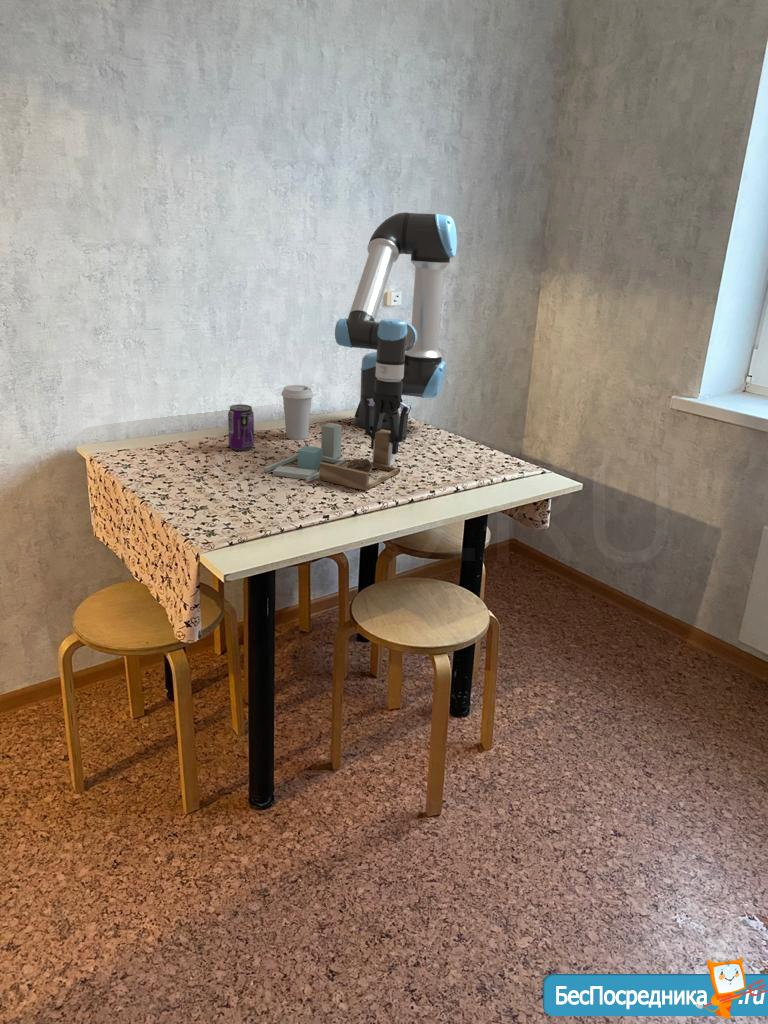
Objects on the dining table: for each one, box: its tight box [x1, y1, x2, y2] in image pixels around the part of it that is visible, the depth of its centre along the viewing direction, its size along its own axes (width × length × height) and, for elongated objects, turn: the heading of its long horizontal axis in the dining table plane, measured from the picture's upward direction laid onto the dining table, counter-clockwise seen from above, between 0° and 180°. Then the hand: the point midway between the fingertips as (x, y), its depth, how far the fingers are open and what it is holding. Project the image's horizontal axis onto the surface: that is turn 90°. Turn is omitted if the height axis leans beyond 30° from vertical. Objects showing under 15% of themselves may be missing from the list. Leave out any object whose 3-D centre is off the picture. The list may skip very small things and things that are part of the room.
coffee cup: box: [280, 384, 315, 441], centre depth 231 cm, size 10×10×15 cm
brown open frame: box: [318, 429, 401, 491], centre depth 204 cm, size 24×14×9 cm, turn 151°
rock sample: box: [346, 457, 374, 474], centre depth 201 cm, size 10×8×9 cm
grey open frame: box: [263, 422, 347, 483], centre depth 207 cm, size 24×14×9 cm, turn 151°
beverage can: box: [227, 403, 255, 451], centre depth 219 cm, size 7×7×12 cm
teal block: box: [297, 445, 323, 471], centre depth 208 cm, size 5×5×5 cm
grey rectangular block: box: [272, 465, 316, 480], centre depth 202 cm, size 4×10×1 cm, turn 76°
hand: (383, 463), depth 213 cm, fingers closed on brown open frame, 4 cm apart
